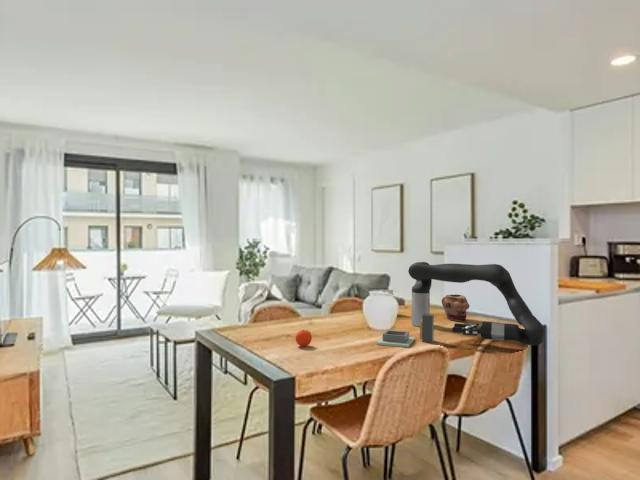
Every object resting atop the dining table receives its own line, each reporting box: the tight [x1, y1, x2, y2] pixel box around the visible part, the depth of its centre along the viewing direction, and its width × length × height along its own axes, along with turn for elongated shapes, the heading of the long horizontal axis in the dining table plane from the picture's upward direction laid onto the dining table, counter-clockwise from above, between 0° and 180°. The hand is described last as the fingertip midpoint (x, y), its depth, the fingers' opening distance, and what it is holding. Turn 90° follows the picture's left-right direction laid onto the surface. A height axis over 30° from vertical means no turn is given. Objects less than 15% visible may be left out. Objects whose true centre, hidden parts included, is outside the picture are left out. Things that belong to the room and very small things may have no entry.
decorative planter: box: [441, 294, 470, 322], centre depth 257 cm, size 20×12×14 cm, turn 32°
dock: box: [375, 329, 416, 348], centre depth 204 cm, size 16×14×4 cm
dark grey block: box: [419, 313, 435, 344], centre depth 206 cm, size 4×6×12 cm
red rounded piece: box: [295, 329, 312, 347], centre depth 196 cm, size 8×7×7 cm
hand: (453, 327), depth 202 cm, fingers open, 8 cm apart
